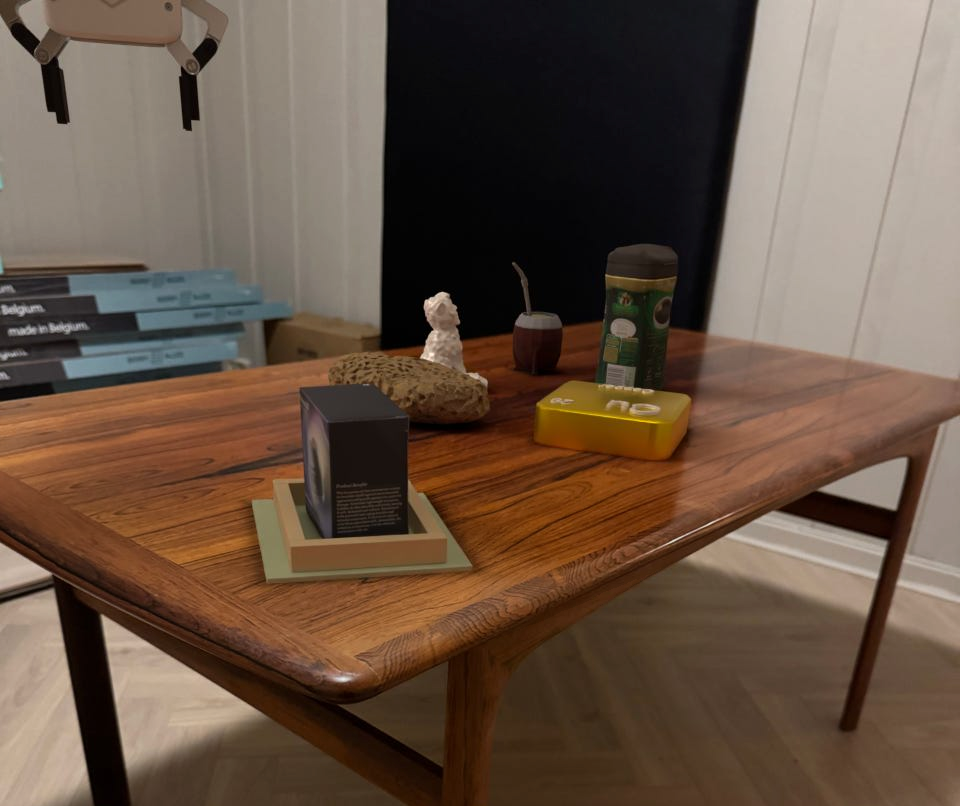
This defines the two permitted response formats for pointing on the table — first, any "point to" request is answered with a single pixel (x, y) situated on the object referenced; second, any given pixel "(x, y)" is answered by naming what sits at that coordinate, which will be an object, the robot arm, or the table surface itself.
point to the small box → (354, 461)
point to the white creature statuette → (445, 335)
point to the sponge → (416, 386)
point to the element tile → (612, 420)
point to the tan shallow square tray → (349, 542)
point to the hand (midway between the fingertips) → (126, 127)
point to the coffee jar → (637, 316)
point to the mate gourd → (536, 338)
